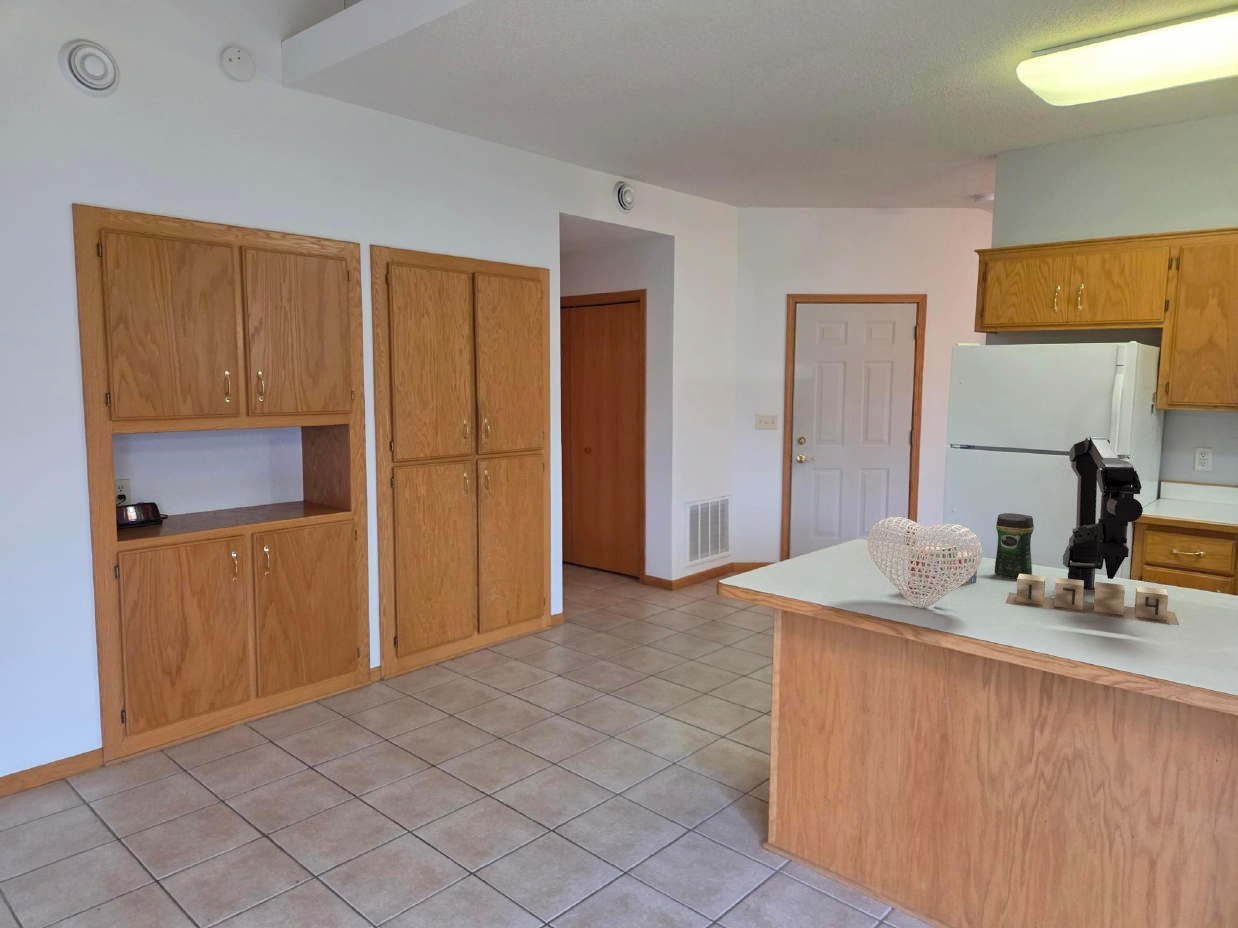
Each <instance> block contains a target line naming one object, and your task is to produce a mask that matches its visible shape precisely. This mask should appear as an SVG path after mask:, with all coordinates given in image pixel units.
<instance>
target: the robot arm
mask: <svg viewBox="0 0 1238 928" xmlns="http://www.w3.org/2000/svg"><path fill="white" fill-rule="evenodd" d="M1110 443H1111V441H1110V438H1108V437H1106V436H1088V437H1085V439H1084V440H1082V441H1079V442H1076V443H1074V444H1073V445H1072V447H1070V449H1069V453H1068V455H1069V456H1068V458H1069V459H1068V460H1069V461H1070V462H1071V463H1070V464H1071V465H1070V467H1071V469H1072V471H1073V472H1074V475H1076V477H1077V491H1076V521H1075V522H1076V523H1075V527H1074V528H1072V534H1071V536H1070V537H1069V539H1068V545H1066V548H1065V551H1064V553H1063V555H1062V565H1063V566H1065V567H1066V568H1067V569H1068V571H1067V579H1074V580H1084V589H1083V590H1085V591H1086V590H1088V591H1095V582H1096V579H1095V578H1096V577H1095V576H1096V570H1101V571H1102V569H1103V566H1104V565H1105V570H1106V576H1107V577H1106V578H1107V579H1108V580H1113V579H1114V578H1115V576H1116V574H1117V572H1118V570H1119V568H1120V567H1121V565H1122V564H1123V562H1124V560H1125V559H1126V558H1129V553H1130V552H1129V551H1130V549H1129V545H1127V543H1128V526H1129V523H1133V522H1135V521H1137V520H1139V519H1140V518H1141V517H1142V515H1143V512H1144V508H1143V505H1142V504H1141V502H1140V501H1139V500H1137V499H1136V498H1134V497H1135V495H1141V489H1142V485H1141V484H1142V483H1141V481H1140V478H1139V474H1138V471H1137V469H1135V467H1134V466H1133V464H1132V463H1130V462H1129V461H1127V460H1124V459H1121V458H1119V456H1118V455H1117V453H1116V451H1115V450H1114V449H1113V447H1112V445H1111V444H1110ZM1098 487H1099V491H1100V493H1101V495H1100V496H1101V497H1100V498H1101V499H1100V511H1099V512H1100V514H1099V516H1100V517H1099V518H1098V521H1097V519H1096V518H1097V498H1098V497H1097V494H1098V493H1097V491H1098ZM1097 522H1098V523H1097Z"/></svg>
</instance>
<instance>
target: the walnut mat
mask: <svg viewBox="0 0 1238 928" xmlns="http://www.w3.org/2000/svg"><path fill="white" fill-rule="evenodd" d="M1016 596H1017V592H1008V595H1007V598H1006V600H1005V604H1010V605H1017V606H1025V607H1034V608H1041V609H1047V610H1056V611H1064V612H1071V613H1072V612H1073V613H1080V614H1088V615H1097V616H1104V617H1112V618H1119V619H1120V618H1121V619H1128V620H1135V621H1144V622H1150V623H1152V622H1153V623H1160V624H1166V625H1176V626H1180V623H1179V619H1178V618H1177V615H1176V612H1175V611H1169V610H1167V620H1161V619H1153V618H1145V617H1137V616H1136V615H1135V606H1128V605H1127V606H1126V605H1124V613H1123V615H1121V614H1113V613H1105V612H1097V611H1094V602H1093V601H1085V600H1083V606H1082V610H1081V609H1073V608H1065V607H1057V606H1054V603H1055V597H1051V596H1044V602H1043V605H1041V604H1032V603H1024V602H1016Z"/></svg>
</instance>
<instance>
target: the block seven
mask: <svg viewBox="0 0 1238 928" xmlns="http://www.w3.org/2000/svg"><path fill="white" fill-rule="evenodd" d="M1084 590H1085V589H1084V580H1074V579H1068V578H1066V577H1065V578H1064V577H1056V578H1055V587H1054V598H1055V603H1054V606H1057V607H1065V608H1073V609H1081V610H1082V606H1083V601H1084V600H1083V599H1084Z"/></svg>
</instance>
